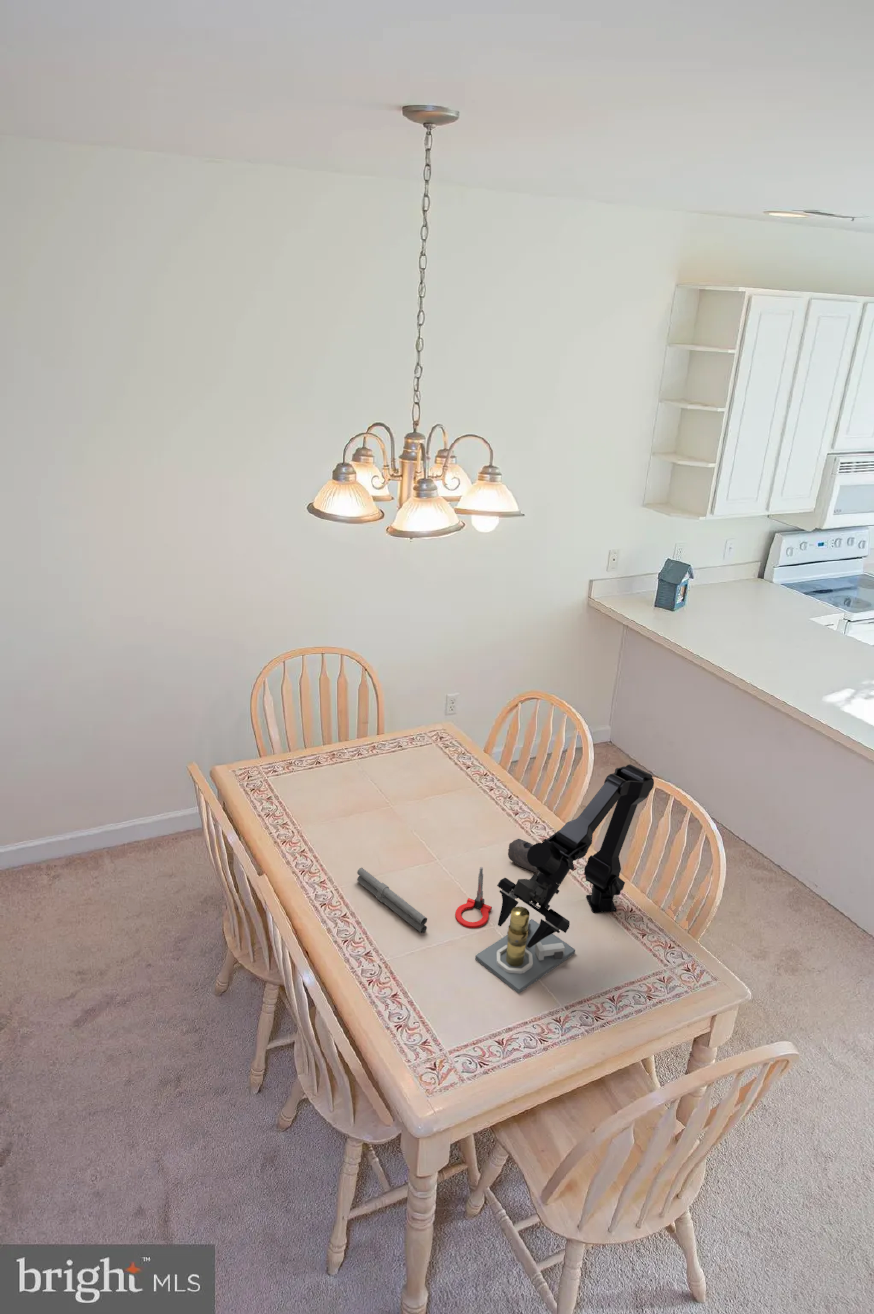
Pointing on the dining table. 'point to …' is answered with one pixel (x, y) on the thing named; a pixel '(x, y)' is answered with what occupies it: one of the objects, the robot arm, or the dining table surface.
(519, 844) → the perforated stone tool
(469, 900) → the tow hook
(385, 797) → the dining table surface
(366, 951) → the dining table surface
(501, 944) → the base
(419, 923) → the metal rod assembly
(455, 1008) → the dining table surface
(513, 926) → the coupler
